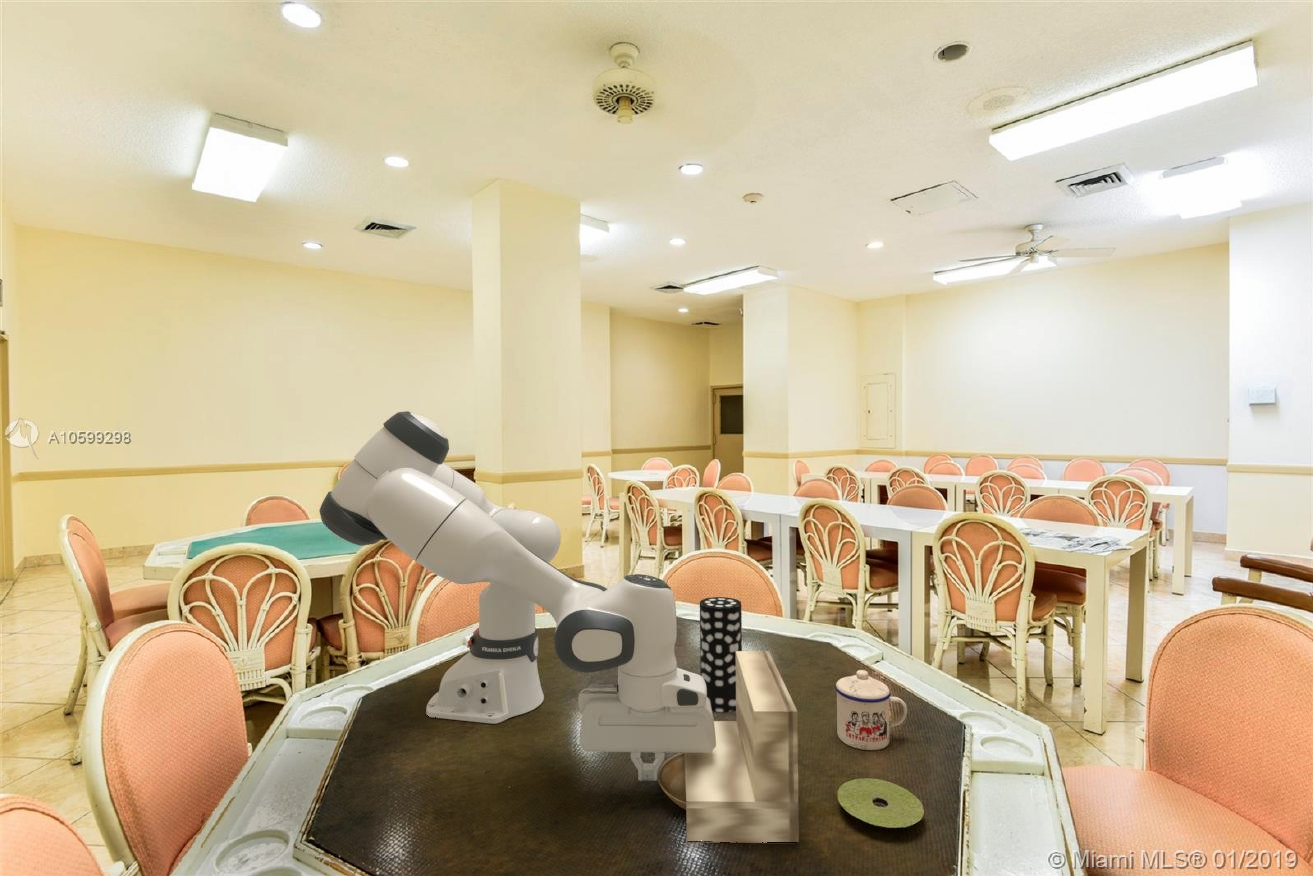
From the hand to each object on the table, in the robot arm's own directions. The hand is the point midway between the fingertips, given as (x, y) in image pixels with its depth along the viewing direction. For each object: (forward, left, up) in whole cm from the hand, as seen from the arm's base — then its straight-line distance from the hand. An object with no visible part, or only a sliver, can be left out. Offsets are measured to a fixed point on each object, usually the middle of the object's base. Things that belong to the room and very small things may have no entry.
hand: (648, 778), depth 87 cm
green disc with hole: (+33, -5, -2) cm, 33 cm away
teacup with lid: (+39, +16, -2) cm, 42 cm away
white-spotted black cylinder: (+14, +30, -2) cm, 33 cm away
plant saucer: (+9, 0, -2) cm, 9 cm away
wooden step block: (+13, 0, -2) cm, 13 cm away
